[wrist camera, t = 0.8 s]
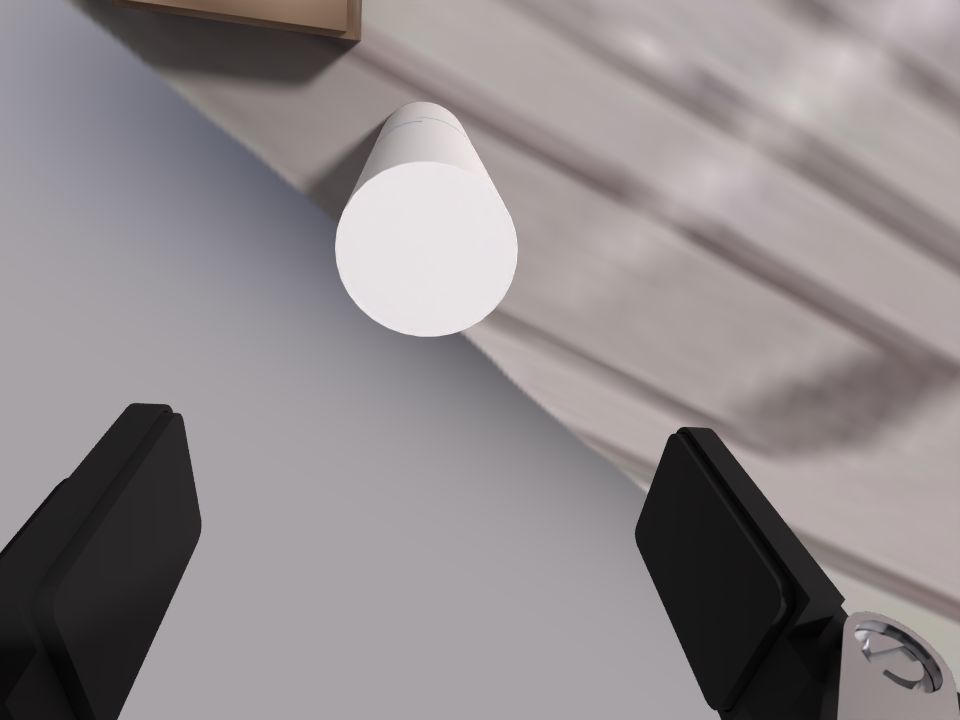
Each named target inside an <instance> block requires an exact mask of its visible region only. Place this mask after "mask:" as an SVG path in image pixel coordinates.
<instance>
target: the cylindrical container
mask: <svg viewBox="0 0 960 720" xmlns="http://www.w3.org/2000/svg"><path fill="white" fill-rule="evenodd" d="M517 251H518V246H517V238H516V231H515V228H514V225H513V222H512V219H511V216H510V214H509V212H508V211H507V209H506V207H505V205H504V203H503V201H502V199H501V198H500V196H499V194H498V192H497V190H496V188H495V186H494V185H493V183H492V181H491V179H490V177H489V175H488V173H487V172H486V170H485V168H484V166H483V164H482V162H481V160H480V159H479V157H478V155H477V153H476V151H475V149H474V148H473V146H472V144H471V142H470V140H469V138H468V137H467V135H466V133H465V131H464V129H463V127H462V126H461V124H460V122H459V121H458V120H457V119H456V117H455V116H454V115H453V114H452V113H450V112H449V111H448V110H447V109H445V108H443V107H441V106H439V105H437V104H433V103H429V102H415V103H410V104H407V105H405V106H402V107H401V108H399V109H398V110H396V111H395V112H394V113H393V114H392V115H391V116H390V117H389V118H388V119H387V121H386V123H385V124H384V126H383V128H382V130H381V132H380V134H379V137H378V139H377V141H376V143H375V145H374V147H373V149H372V151H371V153H370V156H369V158H368V160H367V162H366V164H365V166H364V168H363V171H362V173H361V175H360V177H359V179H358V181H357V183H356V186H355V188H354V190H353V192H352V194H351V196H350V198H349V200H348V202H347V204H346V207H345V209H344V211H343V213H342V216H341V219H340V222H339V225H338V228H337V234H336V244H335V252H336V262H337V267H338V270H339V273H340V277H341V280H342V282H343V284H344V286H345V288H346V290H347V292H348V293H349V295H350V296H351V298H352V299H353V300H354V301H355V303H356V304H357V305H358V306H359V307H360V309H362V310H363V311H364V312H365V313H366V314H367V315H368V316H370V317H371V318H372V319H373V320H375V321H377V322H379V323H380V324H382V325H384V326H385V327H387V328H389V329H392V330H395V331H398V332H401V333H403V334H409V335H415V336H421V337H422V336H423V337H424V336H441V335H447V334H453V333H455V332H458V331H461V330H464V329H466V328H468V327H470V326H472V325H474V324H475V323H477V322H479V321H481V320H482V319H483V318H484V317H485V316H487V315H488V314H489V313H490V312H491V311H492V310H494V308H495V307H496V306H497V305H498V303H499V302H500V301H501V300H502V298H503V297H504V296H505V294H506V292H507V290H508V288H509V286H510V284H511V282H512V279H513V276H514V272H515V268H516V265H517Z"/></svg>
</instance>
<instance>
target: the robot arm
mask: <svg viewBox="0 0 960 720" xmlns="http://www.w3.org/2000/svg"><path fill="white" fill-rule="evenodd" d="M200 533H201V516H200V510H199V505H198V499H197V494H196V488H195V482H194V477H193V472H192V466H191V460H190V454H189V449H188V444H187V438H186V432H185V426H184V421H183V418H182V416H181V414H179V413H173V411H172V409H171V407H170V406H169V405H166V404H144V403H133V404H130V405H129V406H128V407H127V408H126V409H125V411H124V412H123V413H122V414H121V415H120V416H119V418H118V419H117V420H116V421H115V423H114V424H113V425H112V426H111V427H110V428H109V430H108V431H107V432H106V433H105V434H104V436H103V437H102V438H101V439H100V441H99V442H98V443H97V444H96V445H95V447H94V448H93V449H92V450H91V451H90V453H89V454H88V455H87V456H86V457H85V459H84V460H83V461H82V462H81V463H80V465H79V466H78V467H77V469H76V470H75V471H74V472H73V473H72V474H71V476H70V477H69V478H66V479H64V480H63V481H62V482H60V483H59V484H58V485H57V486H56V487H55V488H54V490H53V491H52V492H51V493H50V494H49V496H48V497H47V498H46V499H45V500H44V502H43V503H42V504H41V505H40V506H39V508H38V509H37V510H36V511H35V512H34V513H33V514H32V516H31V517H30V518H29V519H28V520H27V522H26V523H25V524H24V525H23V526H22V528H21V529H20V530H19V531H18V532H17V534H16V535H15V536H14V537H13V538H12V539H11V541H10V542H9V543H8V544H7V545H6V547H5V548H4V549H3V550H2V551H1V553H0V720H117V719H118V717H119V714H120V712H121V710H122V707H123V706H124V703H125V701H126V699H127V697H128V695H129V692H130V690H131V688H132V686H133V684H134V681H135V679H136V677H137V675H138V673H139V670H140V668H141V666H142V664H143V661H144V659H145V657H146V655H147V653H148V651H149V648H150V646H151V644H152V642H153V639H154V637H155V635H156V633H157V631H158V629H159V626H160V624H161V622H162V620H163V618H164V615H165V613H166V611H167V609H168V607H169V604H170V602H171V600H172V598H173V595H174V593H175V591H176V589H177V587H178V585H179V582H180V580H181V578H182V576H183V573H184V571H185V569H186V567H187V565H188V563H189V560H190V558H191V556H192V554H193V552H194V549H195V547H196V545H197V543H198V540H199V537H200ZM635 539H636V543H637V546H638V548H639V551H640V553H641V555H642V557H643V560H644V562H645V564H646V566H647V569H648V571H649V573H650V576H651V578H652V580H653V582H654V585H655V587H656V589H657V591H658V594H659V596H660V598H661V600H662V603H663V605H664V607H665V610H666V612H667V614H668V616H669V619H670V621H671V623H672V625H673V627H674V630H675V632H676V634H677V637H678V639H679V641H680V643H681V645H682V648H683V650H684V652H685V655H686V657H687V659H688V662H689V663H690V666H691V668H692V670H693V673H694V675H695V677H696V680H697V682H698V684H699V686H700V688H701V691H702V693H703V695H704V698H705V700H706V701H707V703H708V705H709V706H710V707H711V708H712V709H713V710H717V711H718V713H719V715H720V718H721V720H960V693H958V692H957V690H956V684H955V681H954V678H953V675H952V672H951V670H950V669H949V667H948V666H947V664H946V663H945V661H944V659H943V658H942V657H941V655H940V654H939V653H938V652H937V651H936V650H935V649H934V648H933V647H932V646H931V645H930V644H929V643H928V642H927V641H926V640H924V639H923V638H922V637H921V636H919V635H918V634H917V633H916V632H914V631H913V630H911V629H910V628H908V627H906V626H905V625H903V624H901V623H900V622H898V621H896V620H894V619H891V618H889V617H886V616H884V615H881V614H877V613H872V612H867V611H865V612H856V613H853V614H852V615H850V616H848V615H847V613H846V612H845V611H844V610H843V608H842V607H841V605H842V603H843V602H844V600H845V598H844V597H843V596H842V595H841V593H840V592H839V591H838V590H837V588H836V587H835V586H834V584H833V583H832V582H831V581H830V579H829V578H828V577H827V575H826V574H825V573H824V572H823V570H822V569H821V568H820V566H819V565H818V564H817V563H816V561H815V560H814V559H813V557H812V556H811V555H810V554H809V552H808V551H807V550H806V548H805V547H804V546H803V545H802V543H801V542H800V541H799V540H798V538H797V537H796V536H795V534H794V533H793V532H792V531H791V529H790V528H789V527H788V525H787V524H786V523H785V522H784V520H783V519H782V518H781V516H780V515H779V514H778V513H777V511H776V510H775V509H774V507H773V506H772V505H771V504H770V502H769V501H768V500H767V498H766V497H765V496H764V495H763V493H762V492H761V491H760V489H759V488H758V487H757V486H756V484H755V483H754V482H753V481H752V479H751V478H750V477H749V475H748V474H747V473H746V472H745V470H744V469H743V468H742V466H741V465H740V464H739V463H738V461H737V460H736V459H735V457H734V456H733V455H732V454H731V452H730V451H729V450H728V448H727V447H726V446H725V445H724V443H723V442H722V441H721V439H720V438H719V437H718V436H717V434H716V433H715V432H714V431H713V430H712V429H710V428H697V427H682V428H680V429H679V430H678V431H677V433H676V434H671V435H670V436H669V438H668V441H667V443H666V446H665V449H664V452H663V454H662V457H661V460H660V463H659V465H658V468H657V471H656V473H655V476H654V479H653V482H652V484H651V487H650V490H649V493H648V495H647V498H646V501H645V503H644V506H643V509H642V512H641V515H640V517H639V520H638V523H637V526H636V529H635Z"/></svg>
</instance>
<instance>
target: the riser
mask: <svg viewBox="0 0 960 720" xmlns="http://www.w3.org/2000/svg"><path fill="white" fill-rule="evenodd" d="M113 5H114V6H119V7H126V8H133V9H140V10H147V11H154V12H161V13H168V14H175V15H182V16H189V17H196V18H203V19H210V20H217V21H224V22H231V23H238V24H246V25H253V26H260V27H267V28H274V29H281V30H288V31H295V32H302V33H309V34H316V35H323V36H330V37H337V38H344V39H351V40H359V41H361V7H362V0H113Z"/></svg>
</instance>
